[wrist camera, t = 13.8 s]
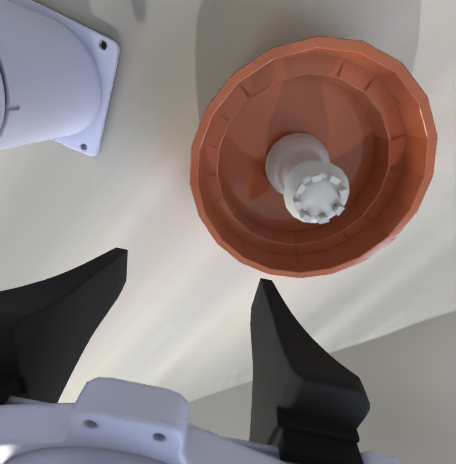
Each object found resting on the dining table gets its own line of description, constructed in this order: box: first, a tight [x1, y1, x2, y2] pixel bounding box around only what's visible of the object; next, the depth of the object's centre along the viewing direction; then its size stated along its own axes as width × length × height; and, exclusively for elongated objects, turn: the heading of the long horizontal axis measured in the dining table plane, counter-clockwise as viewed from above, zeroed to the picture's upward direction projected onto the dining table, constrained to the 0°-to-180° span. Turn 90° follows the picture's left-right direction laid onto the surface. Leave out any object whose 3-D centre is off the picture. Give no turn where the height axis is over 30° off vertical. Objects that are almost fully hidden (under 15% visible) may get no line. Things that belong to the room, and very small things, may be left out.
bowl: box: [190, 36, 437, 278], centre depth 18 cm, size 14×14×5 cm
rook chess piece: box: [265, 133, 350, 224], centre depth 17 cm, size 4×4×8 cm
